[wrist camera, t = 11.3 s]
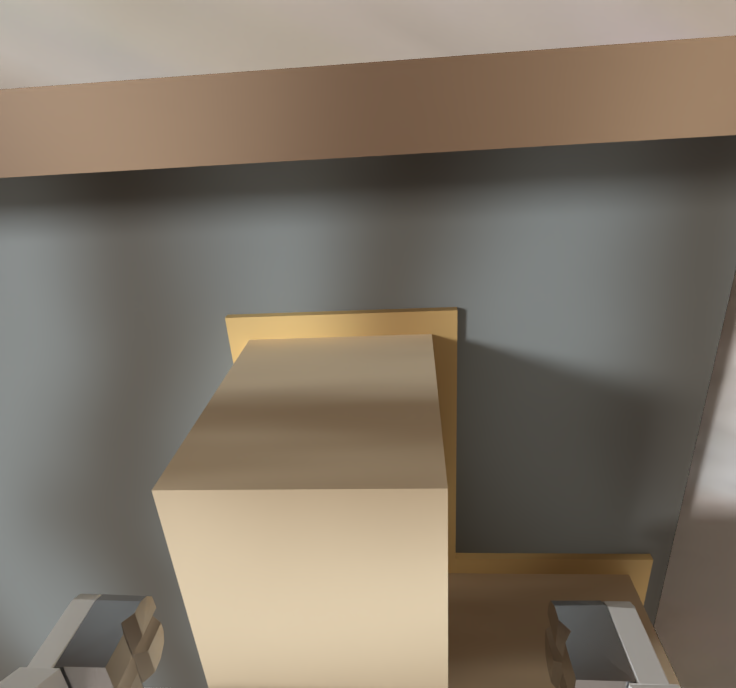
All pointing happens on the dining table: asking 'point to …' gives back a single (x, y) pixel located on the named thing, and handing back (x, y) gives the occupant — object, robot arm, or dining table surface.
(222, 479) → the oak L block
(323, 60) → the dining table surface
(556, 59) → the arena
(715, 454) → the dining table surface
